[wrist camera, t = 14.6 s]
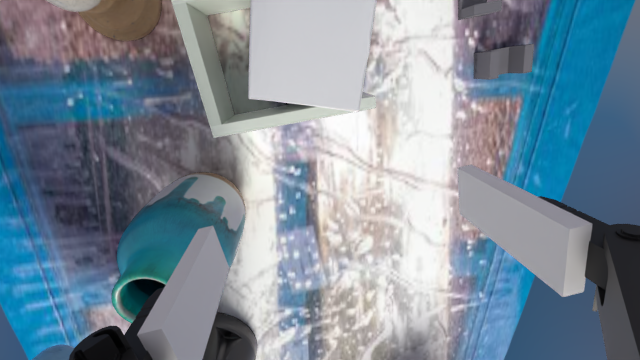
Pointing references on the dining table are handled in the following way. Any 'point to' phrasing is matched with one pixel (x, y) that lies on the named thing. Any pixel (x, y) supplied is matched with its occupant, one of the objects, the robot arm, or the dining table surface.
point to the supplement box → (310, 51)
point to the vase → (174, 235)
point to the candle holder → (116, 16)
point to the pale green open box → (192, 15)
